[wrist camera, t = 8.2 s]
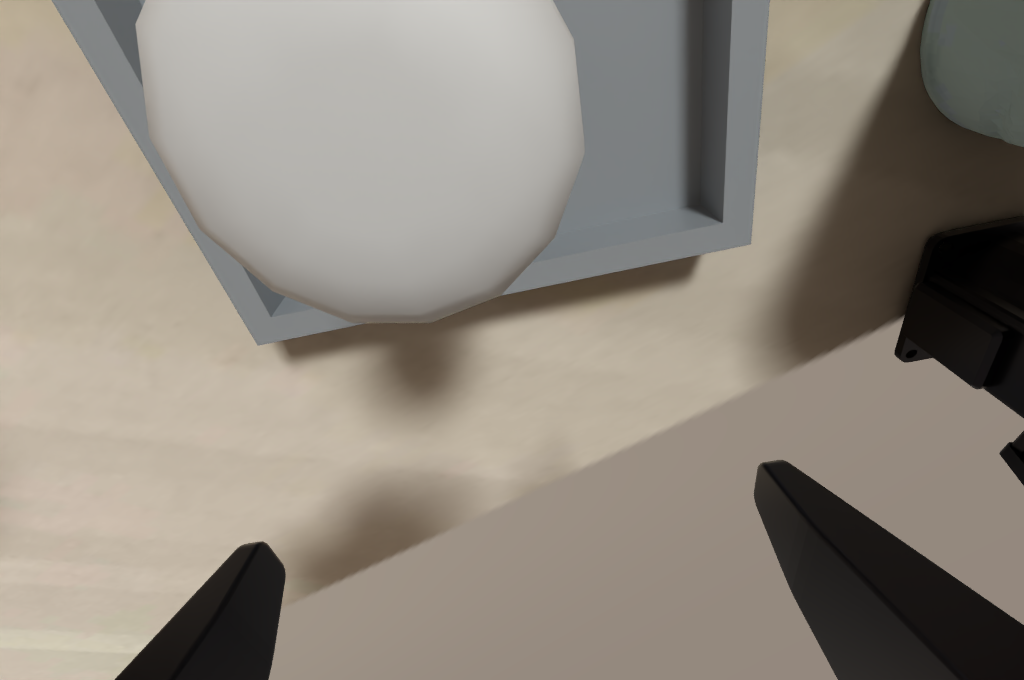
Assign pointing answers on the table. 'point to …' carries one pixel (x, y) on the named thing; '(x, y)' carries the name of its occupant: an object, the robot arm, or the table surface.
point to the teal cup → (976, 64)
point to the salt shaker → (368, 142)
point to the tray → (607, 141)
